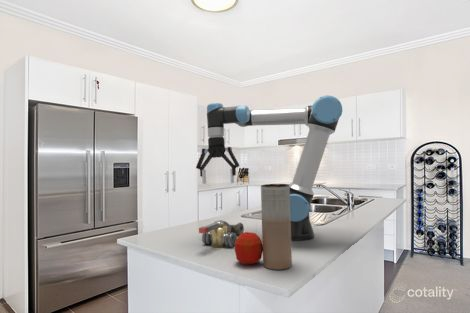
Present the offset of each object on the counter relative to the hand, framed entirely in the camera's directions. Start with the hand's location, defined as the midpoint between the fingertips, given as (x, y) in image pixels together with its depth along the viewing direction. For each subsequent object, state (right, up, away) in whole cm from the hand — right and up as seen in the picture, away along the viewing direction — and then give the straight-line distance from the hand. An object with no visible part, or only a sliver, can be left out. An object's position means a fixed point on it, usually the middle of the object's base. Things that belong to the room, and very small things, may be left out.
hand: (218, 183), depth 135 cm
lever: (-2, -18, -12) cm, 22 cm away
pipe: (+3, -27, +8) cm, 28 cm away
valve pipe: (+1, -26, -7) cm, 27 cm away
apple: (+13, -26, -30) cm, 42 cm away
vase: (+22, -26, -33) cm, 47 cm away
